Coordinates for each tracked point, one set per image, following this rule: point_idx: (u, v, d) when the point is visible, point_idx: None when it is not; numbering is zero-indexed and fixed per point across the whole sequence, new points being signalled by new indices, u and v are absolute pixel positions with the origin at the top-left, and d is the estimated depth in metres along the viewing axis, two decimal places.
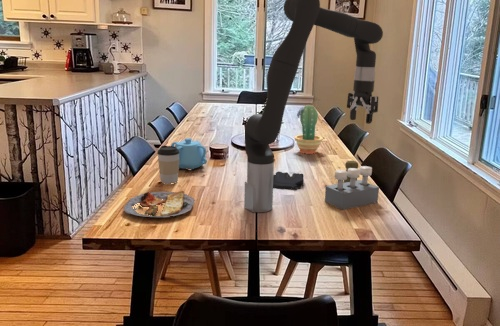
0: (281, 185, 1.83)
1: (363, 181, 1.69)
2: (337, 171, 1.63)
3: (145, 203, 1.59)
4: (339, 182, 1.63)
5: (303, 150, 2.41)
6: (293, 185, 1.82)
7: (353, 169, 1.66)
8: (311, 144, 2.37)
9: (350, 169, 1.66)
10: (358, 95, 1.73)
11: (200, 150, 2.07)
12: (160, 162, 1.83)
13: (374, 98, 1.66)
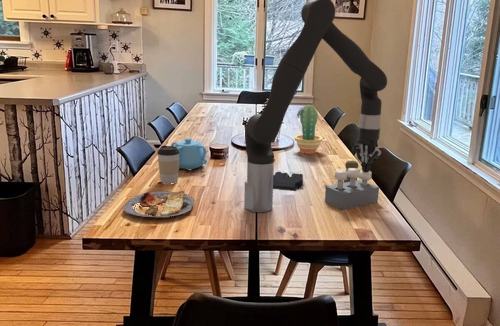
0: (280, 185, 1.83)
1: (363, 185, 1.70)
2: (337, 171, 1.63)
3: (145, 203, 1.59)
4: (339, 182, 1.63)
5: (303, 150, 2.41)
6: (292, 185, 1.82)
7: (353, 169, 1.66)
8: (311, 144, 2.37)
9: (350, 169, 1.66)
10: (363, 142, 1.67)
11: (200, 150, 2.07)
12: (160, 162, 1.83)
13: (377, 154, 1.62)
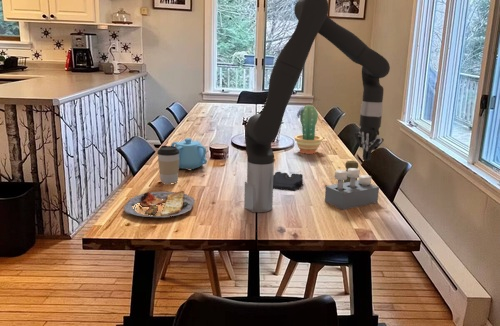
0: (279, 185, 1.82)
1: None
2: (337, 171, 1.63)
3: (145, 203, 1.59)
4: (339, 182, 1.63)
5: (303, 150, 2.41)
6: (291, 185, 1.82)
7: (353, 169, 1.66)
8: (311, 144, 2.37)
9: (350, 169, 1.66)
10: (364, 130, 1.66)
11: (200, 150, 2.07)
12: (160, 162, 1.83)
13: (379, 141, 1.60)
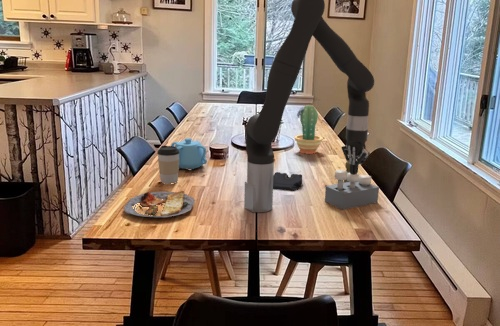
0: (279, 186, 1.82)
1: None
2: (337, 171, 1.63)
3: (145, 203, 1.59)
4: (339, 182, 1.63)
5: (303, 150, 2.41)
6: (291, 186, 1.81)
7: None
8: (311, 144, 2.37)
9: (350, 174, 1.66)
10: (351, 144, 1.64)
11: (200, 150, 2.07)
12: (160, 162, 1.83)
13: (365, 155, 1.59)
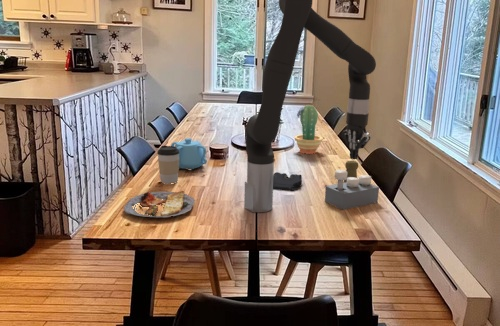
0: (278, 186, 1.82)
1: None
2: (337, 171, 1.63)
3: (145, 203, 1.59)
4: (339, 182, 1.63)
5: (303, 150, 2.41)
6: (290, 186, 1.81)
7: (352, 178, 1.67)
8: (311, 144, 2.37)
9: (349, 178, 1.67)
10: (351, 128, 1.62)
11: (200, 150, 2.07)
12: (160, 162, 1.83)
13: (365, 139, 1.57)
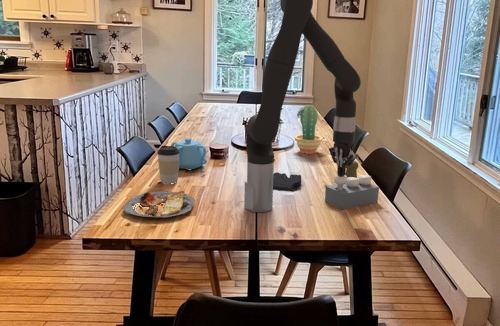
0: (277, 186, 1.82)
1: None
2: (337, 175, 1.64)
3: (145, 203, 1.59)
4: (339, 186, 1.64)
5: (303, 150, 2.41)
6: (289, 186, 1.81)
7: (352, 178, 1.67)
8: (311, 144, 2.37)
9: (349, 178, 1.67)
10: (338, 145, 1.61)
11: (200, 150, 2.07)
12: (160, 162, 1.83)
13: (352, 157, 1.56)
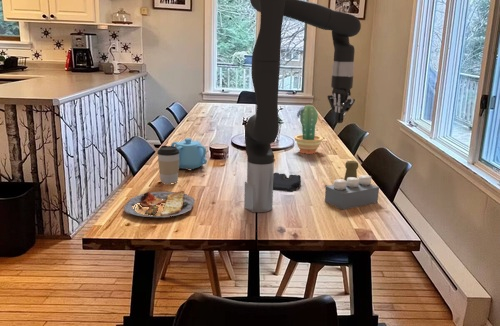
0: (276, 186, 1.81)
1: None
2: (336, 180, 1.64)
3: (145, 203, 1.59)
4: None
5: (303, 150, 2.41)
6: (288, 187, 1.80)
7: (352, 178, 1.67)
8: (311, 144, 2.37)
9: (349, 178, 1.67)
10: (336, 92, 1.63)
11: (200, 150, 2.07)
12: (160, 162, 1.83)
13: (350, 102, 1.58)
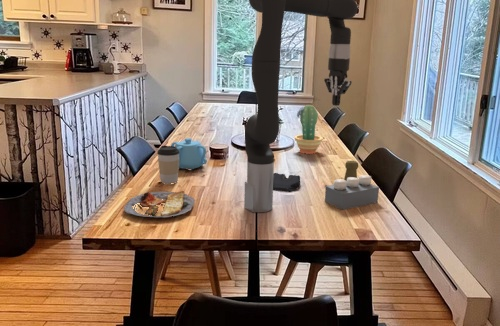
0: (276, 186, 1.81)
1: None
2: (336, 180, 1.64)
3: (145, 203, 1.59)
4: None
5: (303, 150, 2.41)
6: (288, 187, 1.80)
7: (352, 178, 1.67)
8: (311, 144, 2.37)
9: (349, 178, 1.67)
10: (333, 74, 1.65)
11: (200, 150, 2.07)
12: (160, 162, 1.83)
13: (346, 84, 1.60)
